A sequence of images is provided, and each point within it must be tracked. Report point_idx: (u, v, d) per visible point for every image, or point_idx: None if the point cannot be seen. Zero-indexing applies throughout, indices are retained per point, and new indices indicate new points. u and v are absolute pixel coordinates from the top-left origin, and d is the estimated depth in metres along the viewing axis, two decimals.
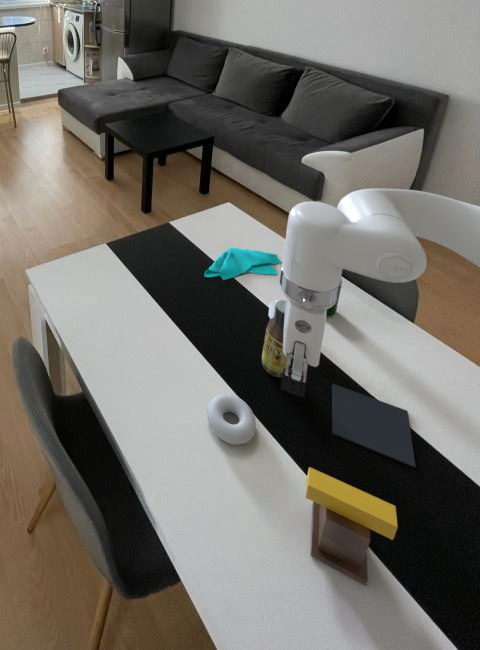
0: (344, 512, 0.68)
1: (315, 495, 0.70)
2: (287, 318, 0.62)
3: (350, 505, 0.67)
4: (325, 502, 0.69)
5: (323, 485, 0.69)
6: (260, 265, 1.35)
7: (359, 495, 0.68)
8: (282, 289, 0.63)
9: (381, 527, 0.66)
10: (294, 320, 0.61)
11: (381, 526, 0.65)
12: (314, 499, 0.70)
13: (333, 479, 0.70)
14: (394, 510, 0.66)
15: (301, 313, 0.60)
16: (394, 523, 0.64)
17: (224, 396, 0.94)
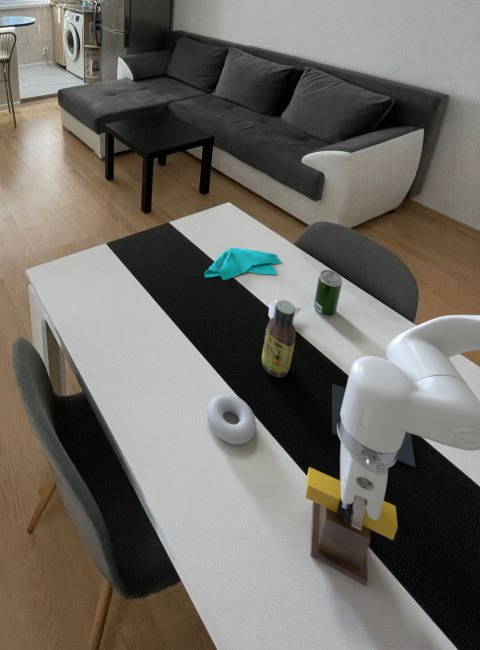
0: None
1: (315, 495, 0.70)
2: (347, 471, 0.62)
3: None
4: (325, 502, 0.69)
5: (323, 485, 0.69)
6: (260, 265, 1.35)
7: None
8: (341, 439, 0.63)
9: (381, 527, 0.65)
10: (355, 476, 0.61)
11: (381, 526, 0.65)
12: (314, 499, 0.70)
13: (333, 479, 0.70)
14: (394, 510, 0.66)
15: (363, 471, 0.60)
16: (394, 523, 0.64)
17: (224, 396, 0.94)
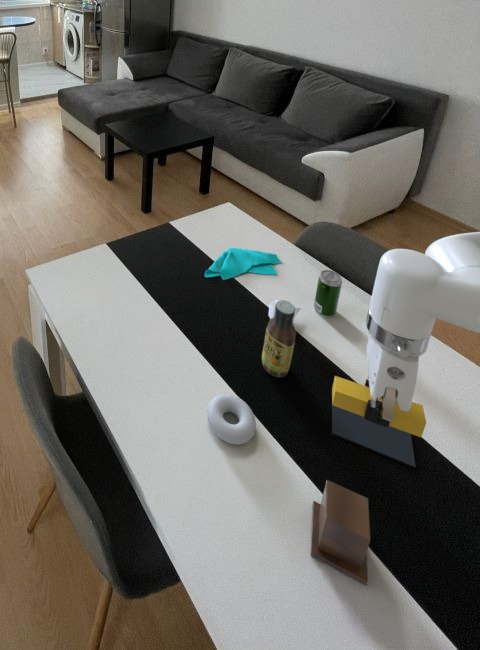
0: None
1: (343, 401, 0.70)
2: (378, 364, 0.62)
3: None
4: (352, 407, 0.70)
5: (350, 390, 0.70)
6: (260, 265, 1.35)
7: None
8: (371, 334, 0.63)
9: (409, 425, 0.66)
10: (386, 367, 0.61)
11: (410, 424, 0.66)
12: (341, 405, 0.71)
13: (359, 385, 0.71)
14: (421, 408, 0.67)
15: (394, 360, 0.60)
16: (422, 419, 0.65)
17: (224, 396, 0.94)
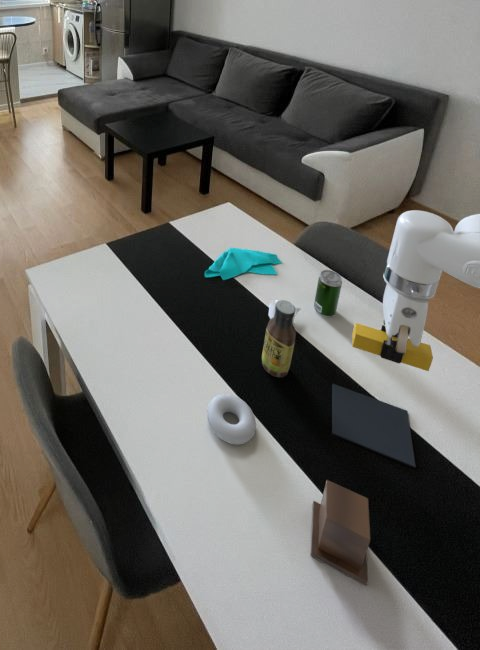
0: None
1: (362, 342, 0.83)
2: (394, 306, 0.75)
3: None
4: (370, 347, 0.82)
5: (368, 333, 0.83)
6: (260, 265, 1.35)
7: None
8: (388, 282, 0.76)
9: (418, 361, 0.79)
10: (401, 308, 0.74)
11: (419, 360, 0.79)
12: (360, 346, 0.83)
13: (376, 330, 0.83)
14: (429, 347, 0.79)
15: (408, 302, 0.73)
16: (430, 355, 0.78)
17: (224, 396, 0.94)
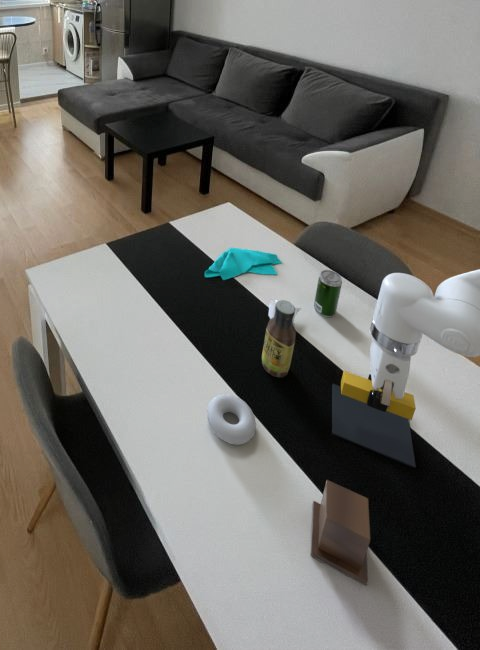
0: None
1: (350, 390, 0.88)
2: (378, 362, 0.80)
3: None
4: (357, 395, 0.88)
5: (355, 382, 0.88)
6: (260, 265, 1.35)
7: None
8: (374, 339, 0.81)
9: (402, 410, 0.84)
10: (385, 364, 0.79)
11: (403, 409, 0.84)
12: (348, 394, 0.89)
13: (363, 378, 0.89)
14: (412, 397, 0.84)
15: (391, 359, 0.78)
16: (413, 406, 0.83)
17: (224, 396, 0.94)
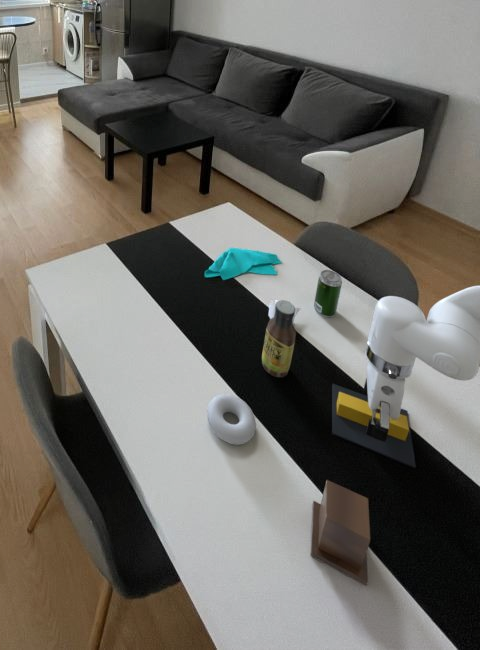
0: None
1: (345, 411, 0.90)
2: (374, 383, 0.82)
3: None
4: (352, 416, 0.90)
5: (350, 403, 0.90)
6: (260, 265, 1.35)
7: None
8: (369, 360, 0.83)
9: (396, 431, 0.86)
10: (380, 385, 0.81)
11: (396, 430, 0.86)
12: (344, 415, 0.91)
13: (358, 399, 0.91)
14: (406, 419, 0.87)
15: (386, 381, 0.80)
16: (406, 427, 0.85)
17: (224, 396, 0.94)
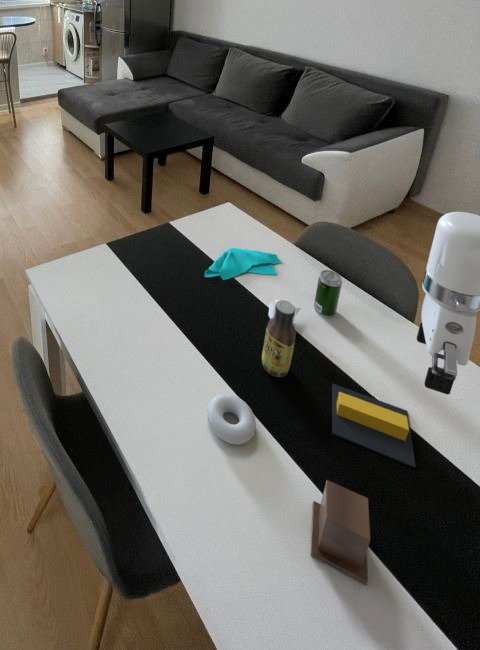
0: (368, 422, 0.89)
1: (345, 411, 0.90)
2: (436, 320, 0.67)
3: (372, 416, 0.88)
4: (352, 416, 0.90)
5: (350, 403, 0.90)
6: (260, 265, 1.35)
7: (379, 409, 0.89)
8: (428, 293, 0.68)
9: (396, 431, 0.86)
10: (445, 322, 0.66)
11: (396, 430, 0.86)
12: (344, 415, 0.91)
13: (358, 399, 0.91)
14: (406, 419, 0.87)
15: (453, 315, 0.65)
16: (406, 427, 0.85)
17: (224, 396, 0.94)
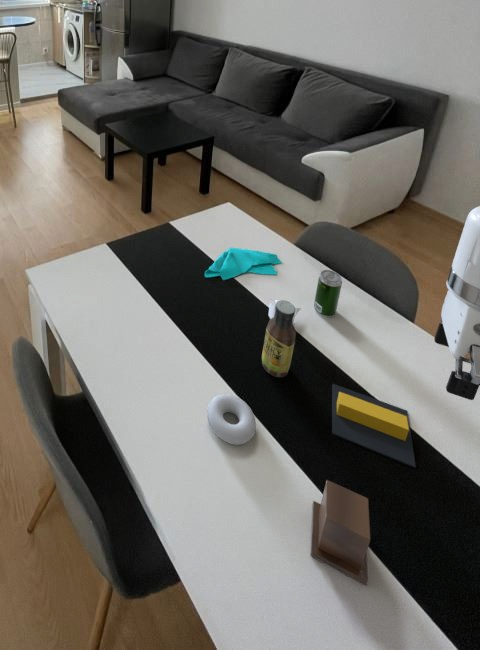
0: (368, 422, 0.89)
1: (345, 411, 0.90)
2: (462, 321, 0.62)
3: (372, 416, 0.88)
4: (352, 416, 0.90)
5: (350, 403, 0.90)
6: (260, 265, 1.35)
7: (379, 409, 0.89)
8: (454, 292, 0.63)
9: (396, 431, 0.86)
10: (473, 323, 0.61)
11: (396, 430, 0.86)
12: (344, 415, 0.91)
13: (358, 399, 0.91)
14: (406, 419, 0.87)
15: None
16: (406, 427, 0.85)
17: (224, 396, 0.94)
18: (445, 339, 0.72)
